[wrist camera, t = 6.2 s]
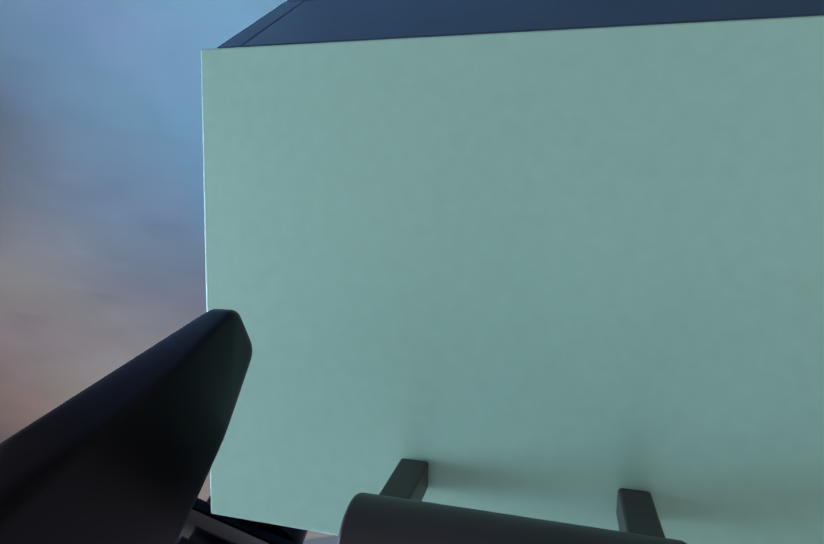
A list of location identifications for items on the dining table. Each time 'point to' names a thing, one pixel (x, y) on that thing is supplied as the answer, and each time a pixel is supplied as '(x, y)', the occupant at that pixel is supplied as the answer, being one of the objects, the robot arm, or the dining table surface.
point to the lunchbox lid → (524, 284)
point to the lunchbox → (490, 17)
